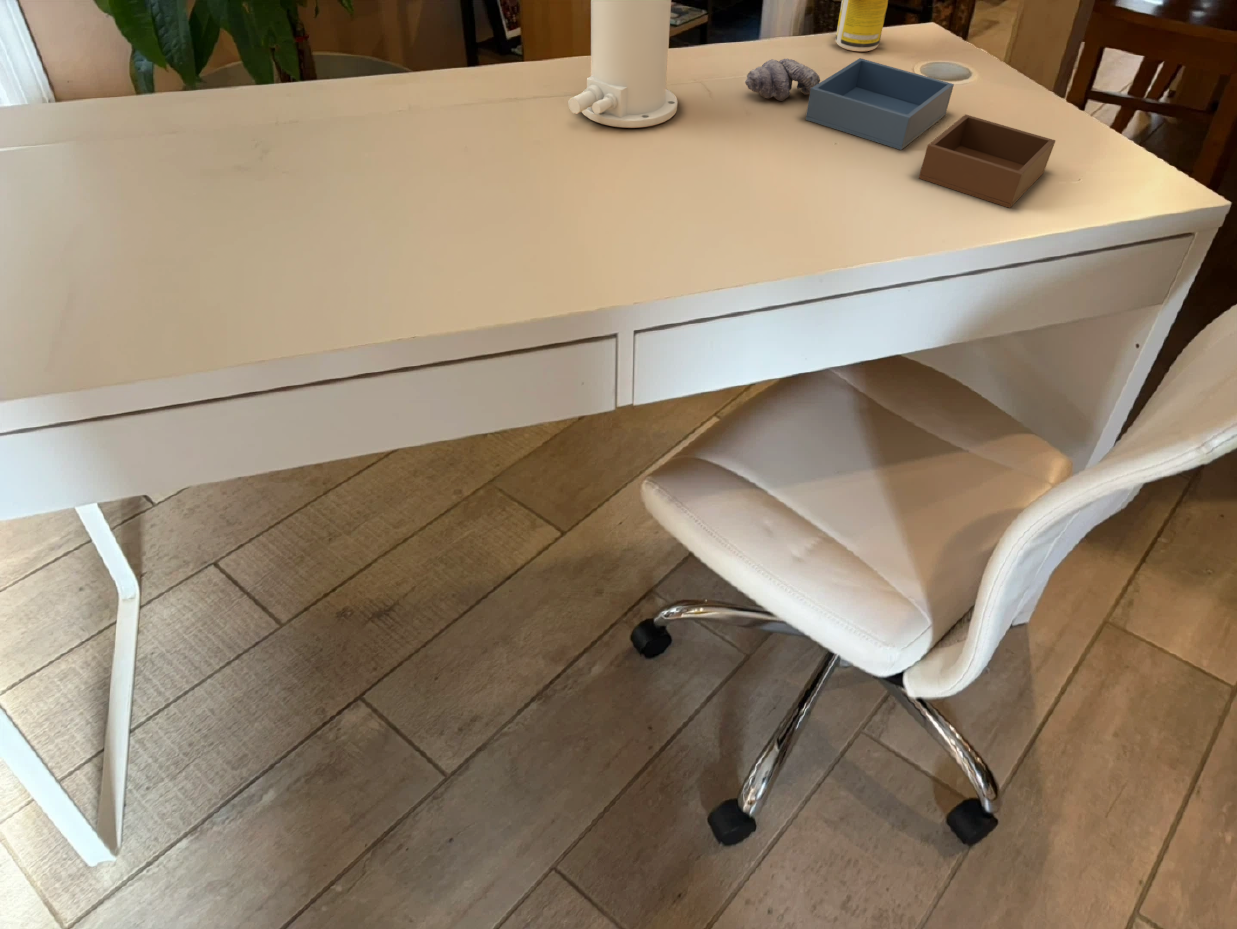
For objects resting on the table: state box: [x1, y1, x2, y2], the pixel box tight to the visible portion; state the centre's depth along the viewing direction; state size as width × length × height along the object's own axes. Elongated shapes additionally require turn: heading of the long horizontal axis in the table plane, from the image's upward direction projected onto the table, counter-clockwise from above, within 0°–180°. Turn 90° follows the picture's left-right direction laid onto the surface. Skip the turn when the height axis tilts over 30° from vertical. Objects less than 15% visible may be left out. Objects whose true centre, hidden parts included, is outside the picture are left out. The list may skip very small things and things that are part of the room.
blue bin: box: [805, 57, 955, 151], centre depth 114 cm, size 13×13×4 cm
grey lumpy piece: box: [744, 58, 821, 102], centre depth 118 cm, size 5×5×10 cm
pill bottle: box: [835, 0, 889, 52], centre depth 130 cm, size 6×6×12 cm
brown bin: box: [918, 114, 1056, 209], centre depth 103 cm, size 11×11×4 cm
